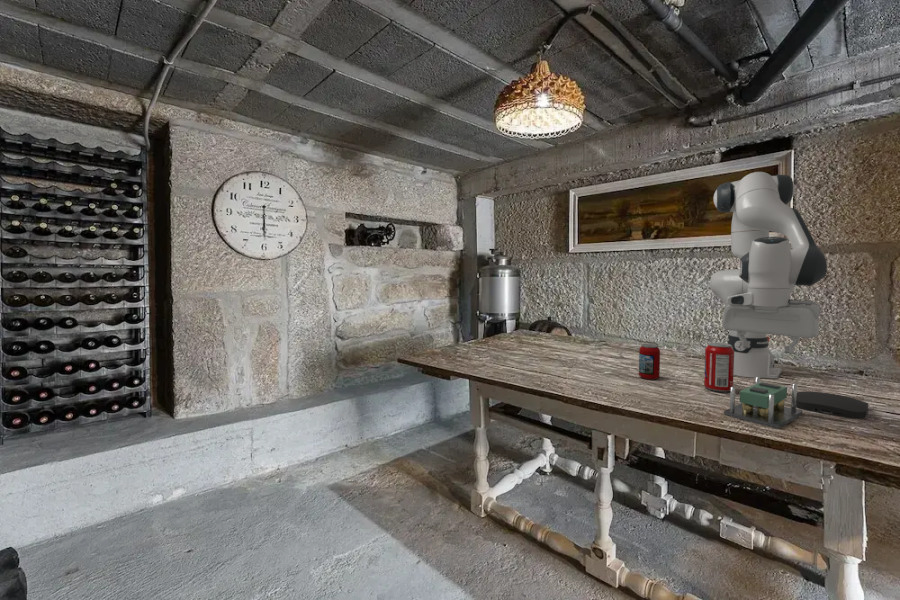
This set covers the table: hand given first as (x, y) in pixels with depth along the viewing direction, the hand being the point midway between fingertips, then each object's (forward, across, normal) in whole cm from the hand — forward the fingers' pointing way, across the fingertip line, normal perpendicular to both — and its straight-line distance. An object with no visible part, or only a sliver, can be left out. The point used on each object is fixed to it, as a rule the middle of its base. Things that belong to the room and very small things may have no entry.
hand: (766, 350), depth 106 cm
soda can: (+18, +17, -14) cm, 29 cm away
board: (+14, 0, +1) cm, 14 cm away
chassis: (+18, 0, +1) cm, 18 cm away
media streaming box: (+19, -9, -20) cm, 29 cm away
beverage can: (+18, +38, -10) cm, 43 cm away
